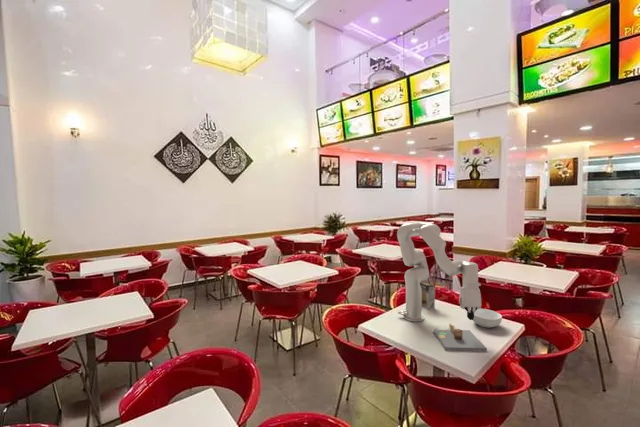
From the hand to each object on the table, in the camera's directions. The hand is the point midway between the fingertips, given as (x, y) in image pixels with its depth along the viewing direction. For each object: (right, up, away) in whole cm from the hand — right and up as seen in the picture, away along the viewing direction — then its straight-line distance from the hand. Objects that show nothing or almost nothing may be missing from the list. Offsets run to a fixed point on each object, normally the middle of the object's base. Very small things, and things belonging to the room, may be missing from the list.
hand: (470, 319), depth 164 cm
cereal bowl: (+17, -10, +17) cm, 26 cm away
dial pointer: (-8, -9, +1) cm, 12 cm away
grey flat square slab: (-8, -11, -3) cm, 14 cm away
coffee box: (-7, -8, +47) cm, 48 cm away
